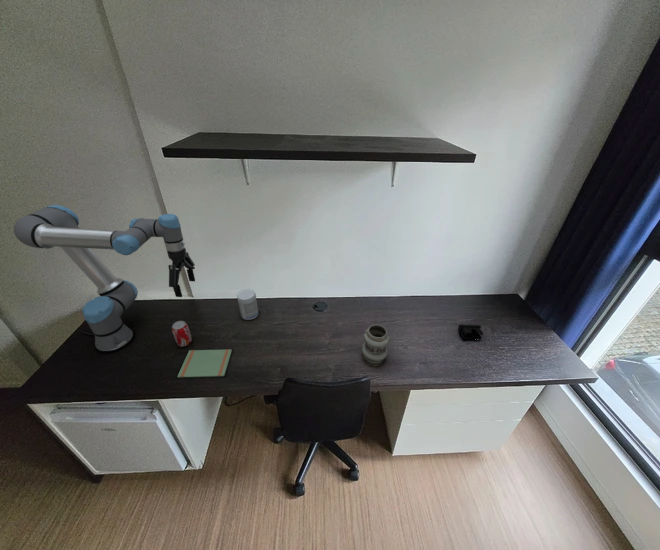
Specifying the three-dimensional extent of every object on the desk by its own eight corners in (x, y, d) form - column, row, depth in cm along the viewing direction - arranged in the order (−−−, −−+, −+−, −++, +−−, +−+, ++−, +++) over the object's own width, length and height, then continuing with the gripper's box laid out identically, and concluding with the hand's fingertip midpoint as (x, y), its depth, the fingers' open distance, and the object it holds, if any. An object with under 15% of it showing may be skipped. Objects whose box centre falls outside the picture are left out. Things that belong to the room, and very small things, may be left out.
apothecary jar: (355, 355, 140) (358, 328, 130) (373, 344, 146) (378, 317, 136) (372, 372, 132) (377, 344, 122) (391, 360, 138) (397, 333, 128)
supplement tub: (261, 311, 164) (258, 290, 156) (253, 322, 156) (250, 301, 148) (246, 308, 166) (242, 287, 158) (237, 318, 158) (233, 297, 150)
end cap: (474, 331, 156) (478, 322, 152) (480, 341, 150) (484, 331, 146) (456, 331, 155) (459, 321, 152) (461, 341, 150) (465, 331, 146)
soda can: (189, 348, 140) (183, 330, 133) (174, 347, 140) (167, 329, 133) (195, 337, 146) (189, 319, 139) (181, 337, 146) (174, 319, 139)
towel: (177, 377, 126) (177, 376, 126) (189, 351, 139) (189, 350, 138) (224, 376, 127) (223, 375, 127) (232, 350, 140) (231, 349, 140)
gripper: (170, 262, 118) (181, 304, 129) (196, 238, 140) (204, 275, 151) (151, 261, 119) (164, 303, 130) (181, 237, 140) (190, 274, 151)
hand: (186, 288), depth 140 cm, fingers open, 13 cm apart
